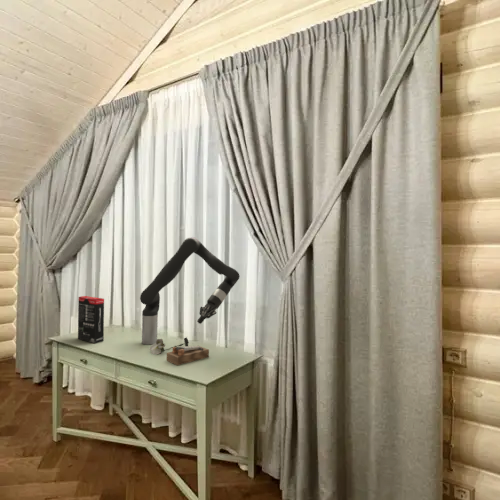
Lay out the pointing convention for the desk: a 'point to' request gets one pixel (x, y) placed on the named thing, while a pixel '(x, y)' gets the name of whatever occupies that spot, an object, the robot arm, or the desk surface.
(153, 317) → the robot arm
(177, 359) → the lever base
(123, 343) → the desk surface
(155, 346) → the artificial flower
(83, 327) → the graphics card box
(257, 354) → the desk surface
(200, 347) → the lever
